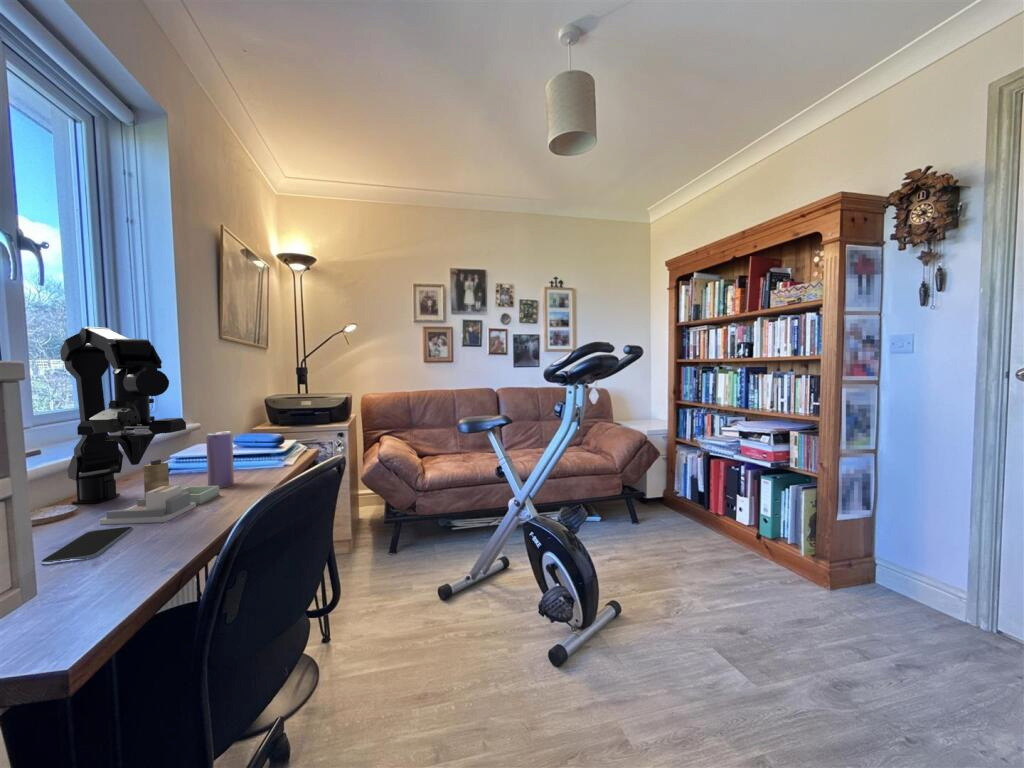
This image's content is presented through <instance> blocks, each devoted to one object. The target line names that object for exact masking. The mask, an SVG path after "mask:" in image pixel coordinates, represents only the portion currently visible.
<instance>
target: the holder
mask: <svg viewBox="0 0 1024 768" xmlns="http://www.w3.org/2000/svg"><path fill="white" fill-rule="evenodd" d="M189 492H190V503H191V502H196V506H201V505H203V504H205V503H206V502H209V501H211V500H213V499H215V498H217V497H218V496H220V488H219V486H208V485H198V486H197V485H193V486H186V487H183V488H181V494H182V493H189Z"/></svg>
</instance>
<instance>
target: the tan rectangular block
mask: <svg viewBox="0 0 1024 768" xmlns="http://www.w3.org/2000/svg"><path fill="white" fill-rule="evenodd" d="M169 475H170V474H169V461H167V462H165V461H162V459H161V458H160V459H159V458H158V459H151V460H150V463H148V464H145V465H143V484H144V485H143V486H144V489H143V490H144V492H143V493H144V498H146V492H149V491H151V490H154V489H156V488H159V487H162V486H169V485H170V481H169V480H170V479H169V478H170V476H169Z"/></svg>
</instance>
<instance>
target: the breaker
mask: <svg viewBox="0 0 1024 768" xmlns="http://www.w3.org/2000/svg"><path fill="white" fill-rule="evenodd" d="M181 489H182V486H181V485H174V484H169V486H162V487H159V488H156V489H154V490H151V491H149V492H146V509H164V508H165V512H166V500H169V499H171V498H173V497H175V496H178V495H180V494H181Z"/></svg>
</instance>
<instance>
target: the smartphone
mask: <svg viewBox="0 0 1024 768" xmlns="http://www.w3.org/2000/svg"><path fill="white" fill-rule="evenodd" d="M132 530H133V526H122V527H114V528H113V527H112V528H104V529H95V530H90V531H87V532H85V533H83V534H82V535H80V536H79V537H77V538H75V539H74V540H72V541H70V542H69V543H67V544H66V545H64V546H62V547H61V548H59V549H57V550H55V552H54V551H53V552H52V553H51V554H49V555H47V556H46V557H45V558H43V559H41V561H42V562H53V561H61V560H70V559H87V558H91V559H94V558H96V556H97V557H98V556H99V555H101V554H103V552H104V551H106V550H107V549H109V548H111V546H113V545H114V544H115V543H117V542H119V540H121V539H122V538H123V537H125V535H127V534H129V533H130V532H131V531H132ZM93 557H94V558H93ZM87 560H88V559H87Z"/></svg>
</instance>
